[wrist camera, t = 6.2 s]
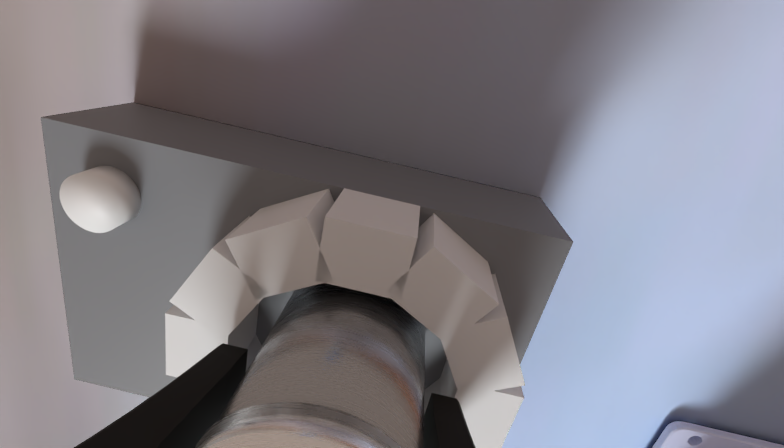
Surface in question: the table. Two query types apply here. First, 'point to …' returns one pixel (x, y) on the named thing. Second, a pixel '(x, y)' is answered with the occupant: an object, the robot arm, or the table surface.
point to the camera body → (284, 252)
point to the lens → (331, 377)
